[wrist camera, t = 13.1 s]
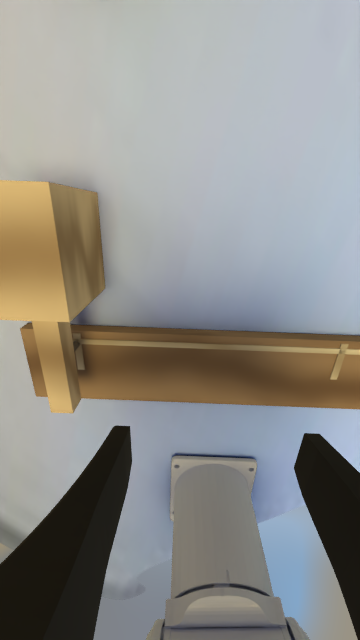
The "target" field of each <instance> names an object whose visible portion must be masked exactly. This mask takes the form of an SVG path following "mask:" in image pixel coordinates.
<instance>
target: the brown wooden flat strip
mask: <svg viewBox="0 0 360 640" xmlns="http://www.w3.org/2000/svg"><path fill="white" fill-rule="evenodd" d="M70 327H71V333H72V340H73V342H74V341H78V342H79V344H80V346H79V347H78V348H77V350H76V351H75V352H74V353H75V360H76V367H77V373H78V380H79V387H80V393H81V398H90V399H115V400H140V401H165V402H191V403H216V404H241V405H266V406H291V407H316V408H342V409H360V336H354V335H328V334H302V333H276V332H250V331H224V330H198V329H172V328H146V327H120V326H94V325H70ZM20 330H21V334H22V338H23V343H24V347H25V351H26V355H27V360H28V364H29V368H30V372H31V377H32V381H33V385H34V389H35V393H36V396H40V397H48V395H47V390H46V385H45V381H44V376H43V371H42V367H41V362H40V358H39V353H38V348H37V344H36V339H35V334H34V330H33V325H32V323H27V324H26V325H25V326H23V327H22V328H20Z"/></svg>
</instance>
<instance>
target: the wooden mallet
mask: <svg viewBox="0 0 360 640" xmlns="http://www.w3.org/2000/svg"><path fill="white" fill-rule="evenodd" d="M104 289H105V278H104V267H103V255H102V243H101V231H100V219H99V208H98V196H97V193H96V192H92V191H87V190H83V189H78V188H73V187H69V186H64V185H60V184H55V183H50V182H31V181H3V180H0V320H23V321H32V325H33V330H34V334H35V339H36V344H37V348H38V353H39V358H40V362H41V367H42V371H43V376H44V381H45V385H46V390H47V395H48V399H49V404H50V409H51V412H54V413H73V412H74V411H75V409H76V407H77V405H78V403H79V402H80V400H81V393H80V387H79V380H78V373H77V367H76V360H75V353H74V352H75V351H76V350H77V348H78V347H79V346H80V344H79V342H78V341H74V342H73V340H72V333H71V327H70V322H71V321H72V320H73V319H74V318H75V317H76V316H77V315H78V314H79V313H80V312H81V311H82V310H83V309H84V308H85V307H86V306H87V305H88V304H89V303H90V302H91V301H92V300H94V299H95V298H96V297H97V296H98V295H99V294H100V293H101V292H102V291H103V290H104Z"/></svg>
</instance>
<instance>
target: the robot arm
mask: <svg viewBox="0 0 360 640" xmlns="http://www.w3.org/2000/svg"><path fill="white" fill-rule="evenodd" d="M131 464H132V453H131V436H130V426H114V427H113V428H112V430H111V432H110V433H109V435H108V436H107V438H106V440H105V441H104V443H103V444H102V446H101V447H100V449H99V450H98V451H97V453H96V454H95V456H94V457H93V459H92V460H91V461H90V463H89V464H88V465H87V467H86V468H85V470H84V471H83V472H82V474H81V475H80V476H79V478H78V479H77V480H76V481H75V483H74V484H73V485H72V486H71V488H70V489H69V490H68V491H67V493H66V494H65V495H64V496H63V498H62V499H61V500H60V501H59V502H58V503H57V505H56V506H55V507H54V508H53V509H52V510H51V512H50V513H49V514H48V515H47V516H46V517H45V518H44V519H43V521H42V522H41V523H40V524H39V525H38V526H37V527H36V528H35V529H34V530H33V531H32V532H31V533H30V534H29V536H28V537H27V538H26V539H25V540H24V541H23V542H22V543H21V544H20V545H19V546H18V547H17V548H16V549H15V550H14V551H13V552H12V553H11V554H10V555H9V556H8V557H7V558H6V559H5V560H4V561H3V562H2V563H1V564H0V640H93V638H94V632H95V626H96V621H97V616H98V610H99V605H100V600H101V594H102V589H103V584H104V579H105V574H106V569H107V565H108V561H109V556H110V553H111V549H112V545H113V541H114V538H115V534H116V530H117V526H118V522H119V519H120V515H121V511H122V507H123V504H124V500H125V496H126V492H127V488H128V482H129V476H130V470H131ZM256 469H257V462H256V460H254V459H247V458H222V457H198V456H174V457H173V458H172V463H171V497H170V519H171V520H172V521H174V523H173V550H172V576H171V577H172V578H171V579H172V580H171V599H167V600H166V609H165V610H166V611H165V619H157V620H156V621H155V623H154V625H153V627H152V629H151V630H150V632H149V634H148V635H147V638H146V640H310V639H309V637H308V636H307V634H306V633H305V632H304V631H303V629H302V628H301V627H300V626H299V625H298V623H297V621H296V620H295V619H294V618H292V617H285V616H284V612H283V608H282V604H281V600H280V598H279V597H274V596H273V591H272V587H271V582H270V578H269V574H268V569H267V565H266V561H265V556H264V552H263V548H262V543H261V539H260V535H259V531H258V526H257V522H256V517H255V513H254V509H253V504H252V500H251V492H252V487H253V483H254V478H255V474H256ZM294 470H295V473H296V477H297V480H298V483H299V487H300V490H301V493H302V496H303V498H304V501H305V503H306V506H307V508H308V510H309V513H310V515H311V517H312V520H313V522H314V525H315V527H316V529H317V531H318V534H319V536H320V539H321V541H322V543H323V545H324V548H325V550H326V553H327V555H328V557H329V560H330V562H331V564H332V567H333V569H334V572H335V574H336V577H337V579H338V582H339V585H340V588H341V591H342V594H343V597H344V599H345V602H346V605H347V608H348V611H349V614H350V617H351V620H352V623H353V626H354V629H355V632H356V635H357V638H358V640H360V473H359V472H358V471H357V470H356V469H355V468H354V467H353V466H352V465H351V464H350V463H349V462H348V461H347V460H346V459H345V458H344V457H343V456H342V455H341V454H340V453H339V452H337V451H336V450H335V449H334V448H333V447H332V446H331V445H330V444H329V443H328V442H327V441H326V440H325V439H324V438H323V437H322V436H321V435H320V434H308V433H304V436H303V440H302V443H301V446H300V450H299V453H298V456H297V459H296V463H295V466H294Z"/></svg>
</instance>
